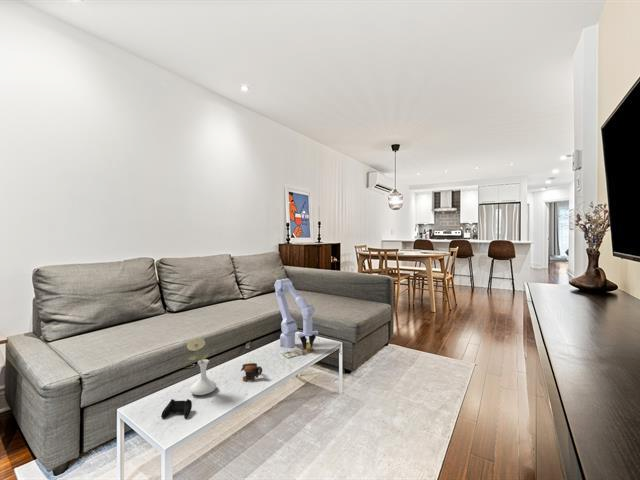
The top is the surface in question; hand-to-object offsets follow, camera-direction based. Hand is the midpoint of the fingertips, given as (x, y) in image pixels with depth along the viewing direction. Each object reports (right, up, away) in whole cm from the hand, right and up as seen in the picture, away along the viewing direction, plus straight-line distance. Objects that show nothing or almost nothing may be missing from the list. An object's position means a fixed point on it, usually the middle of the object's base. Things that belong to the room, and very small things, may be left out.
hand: (307, 347), depth 187 cm
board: (-6, -3, -4) cm, 8 cm away
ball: (0, -1, 0) cm, 1 cm away
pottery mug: (-27, -4, -33) cm, 43 cm away
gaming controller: (-50, -4, -65) cm, 82 cm away
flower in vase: (-47, -4, -47) cm, 67 cm away
